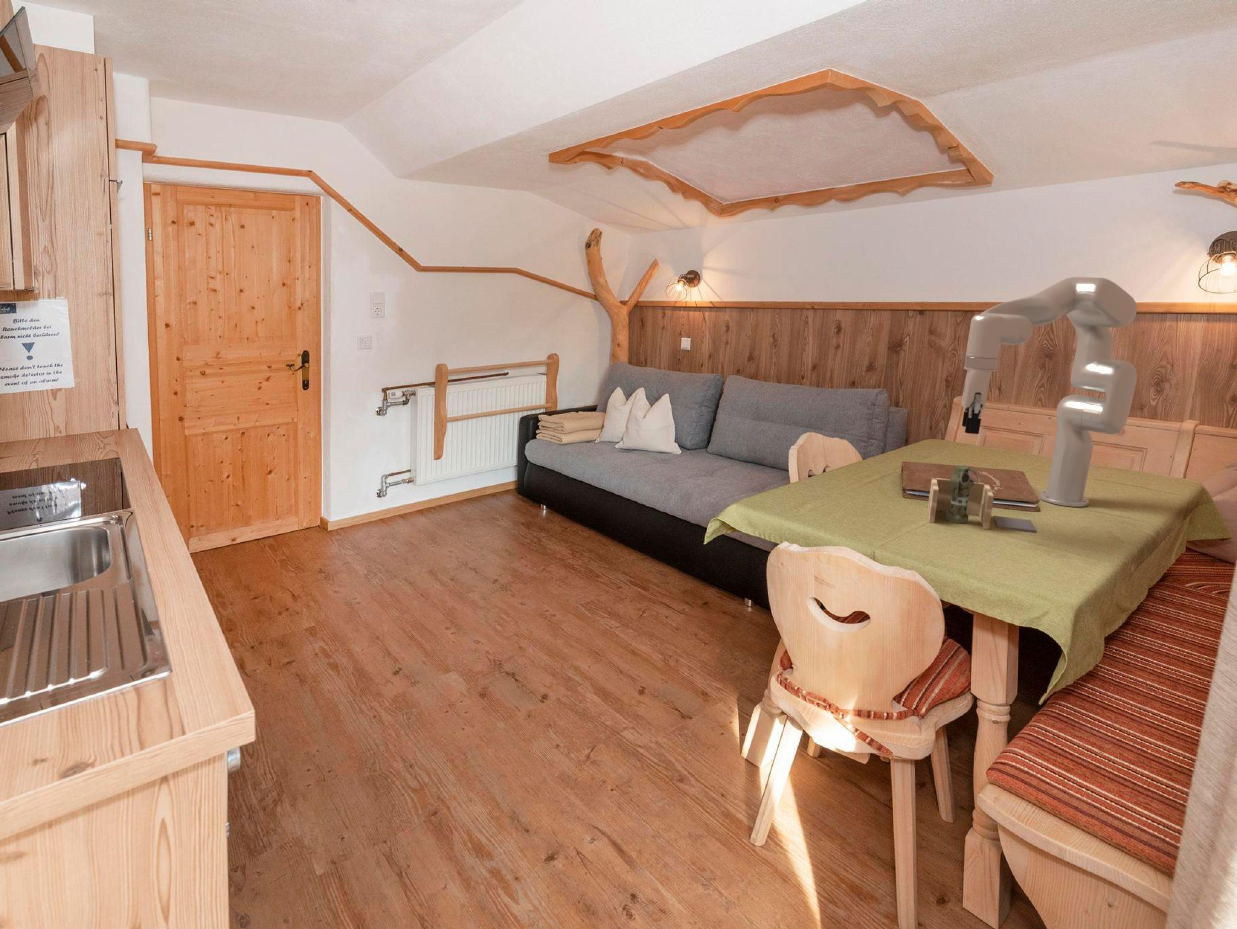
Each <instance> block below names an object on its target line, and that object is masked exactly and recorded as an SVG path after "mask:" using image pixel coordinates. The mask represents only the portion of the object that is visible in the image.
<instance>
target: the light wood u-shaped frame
mask: <svg viewBox="0 0 1237 929" xmlns="http://www.w3.org/2000/svg"><path fill="white" fill-rule="evenodd" d="M950 480H951V478H950V479H949V478H948V479H947V478H939V477H931V482H930V487H929V488H930V489H929V496H928V501H927V514H928V523H932V524H933V523H935V518H936V512H938V511H939V512H946V513H947V512H949V511H950V506H952V505H951V500H952V496H951V484H950ZM967 495H968V493H967ZM994 498H995V496H994V494H993V491H992V489H991V486H990V484H989V483H986V482H979V483H975V482H974V485H973V487H971V488H970V490H969V497H968V504H967V510H966V514H967V515H971V516H972V515H973V516H979V519H980V522H981V525H982V528H983V529H984V530H987V531H988V530H989V529H990V524H991V517H992V511H993V504H994V500H995V499H994ZM966 501H967V500H966ZM965 508H966V507H965Z"/></svg>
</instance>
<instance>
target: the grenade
mask: <svg viewBox="0 0 1237 929" xmlns="http://www.w3.org/2000/svg"><path fill="white" fill-rule="evenodd" d="M971 468H972V466H968V465H958V466H955V467H954V468H953V474H952V476H951V478H950V484H951V496H952V500H951V505H952V506H950V511H949V512H947V511H946V516H945V520H946V521H948V522H950V523H956V524H967V523H968V522H969V514H966V510H967V504H968V497H969V490H970V488H971V487H973V485H974V482H975V483H981V478H980V476H979V474H978V473H977V472H976V471H975V470H974V469H971ZM970 472H972V473H973V474H974V475H975V476H976V477H977V480H978V481H977V480H975V479H974V478H973V477H972V475H971V474H970ZM967 493H968V495H967ZM966 500H967V501H966ZM965 507H966V508H965Z"/></svg>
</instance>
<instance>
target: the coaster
mask: <svg viewBox="0 0 1237 929" xmlns="http://www.w3.org/2000/svg"><path fill="white" fill-rule="evenodd" d="M993 521H994V522H995V525H996V528H997V529H1003V530H1004V529H1005V530H1011V531H1012V530H1013V531H1018V532H1019V531H1020V532H1027V533H1034V534H1035V533H1036V534H1037V529H1036V527H1035V526H1034V523H1033V522H1032V520H1031V519H1025V518H1024V519H1023V518H1018V517H1017V518H1016V517H1008V516H999V515H993Z"/></svg>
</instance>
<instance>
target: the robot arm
mask: <svg viewBox="0 0 1237 929" xmlns="http://www.w3.org/2000/svg"><path fill="white" fill-rule="evenodd" d="M1137 307H1138V306H1137V303H1136V300H1135V298H1134V297H1133V296H1132V295H1130V294H1129V293H1128V292H1127V291H1126V290H1124V289H1123V287H1121V286H1120V285H1118V284H1116V282H1114V281H1112V280H1110V279H1108V278H1104V277H1084V276H1083V277H1082V276H1081V277H1080V276H1079V277H1078V276H1075V277H1074V276H1073V277H1068V278H1067V277H1066V278H1065V279H1062V280H1060V281H1059V282H1056V283H1055V284H1052V285H1051V286H1049V287H1047V288H1045V289H1043V290H1042V291H1040V292H1038V293H1035V294H1032V295H1028V296H1024V297H1021V298H1016V299H1012V300H1009V301H1005V302H1001V303H999V304H996V305H994V306H992V307H989V308H988V309H986V310H984V311H983V312H981V313H980V314H976V315H973V316H972V317H971V319H970V320H971V321H970V327H969V332H968V338H967V346H966V351H965V359H964V364H963V365H964V366H963V370H966V375H965V380H964V384H963V385H964V386H963V390H962V391H963V392H962V396H961V402H960V404H961V406H962V408H963V409H964V410H963V416H962V423H961V426H962V428H963V427H964V432H965V434H971V435H979V434H980V428H981V423H982V410H984V409H985V407H986V403H987V399H988V398H987V397H988V393H989V387H990V386H989V385H990V379H991V374H992V372H997V370H998V369H997V368H998V364H999V363H998V361H999V356H1000V349H1001V345H1009V346H1018V345H1021V344H1024V343H1026V342H1027V341H1028V340H1029V339H1030V338H1031V336H1032V334H1033V330H1034V328H1033V327H1040V326H1044V325H1049V324H1052V323H1054V322H1055V321H1057V320H1060V318H1063V317H1064V316H1067V319H1068V320H1069V322H1070V323H1071V324H1072V326H1073V328H1074V330H1075V333H1076V336H1077V343H1076V349H1075V354H1074V359H1073V363H1072V368H1071V373H1070V384H1071V386H1072V387H1074V388H1076V389H1077V390H1081V391H1085V392H1091V393H1092V392H1093V393H1097V394H1098V393H1099V394H1105V396H1106V398H1103V397H1097V396H1091V395H1084V394H1069V395H1067V396H1064V397H1063V398H1061V400H1060V401H1059V402H1058V404H1057V407H1056V433H1055V434H1056V436H1055V442H1054V448H1053V452H1052V459H1051V463H1050V469H1049V473H1048V474H1049V475H1048V480H1047V486H1046V490H1045V491H1041V492H1040V493H1039V498H1040V500H1042V501H1043V502H1047V503H1050V504H1054V505H1059V506H1064V507H1075V508H1077V507H1078V508H1079V507H1080V508H1081V507H1087V506H1088V505H1089V503H1090V500H1089V499H1088V498H1087V497H1085V492H1086V485H1087V480H1088V476H1089V470H1090V465H1091V460H1092V455H1093V450H1094V441H1093V437H1092V435H1091V432H1095V433H1100V434H1105V435H1115V434H1118V433H1119V434H1120V433H1121V431H1123V430H1124V428H1125V426H1126V424H1127V421H1128V418H1129V415H1130V411H1131V407H1132V403H1133V398H1134V394H1135V389H1136V385H1137V381H1138V373H1137V369H1136V367H1135V366H1134V364H1132V363H1131V362H1129V361H1126V360H1121V359H1120V360H1119V359H1112V353H1113V352H1112V351H1113V346H1114V337H1113V333H1112V330H1111V329H1110V328H1115V329H1116V328H1124V327H1127V326H1128V325H1130V324H1131V323H1133V321H1134V320H1135V318H1136V316H1137V311H1138V310H1137V309H1138V308H1137Z"/></svg>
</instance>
